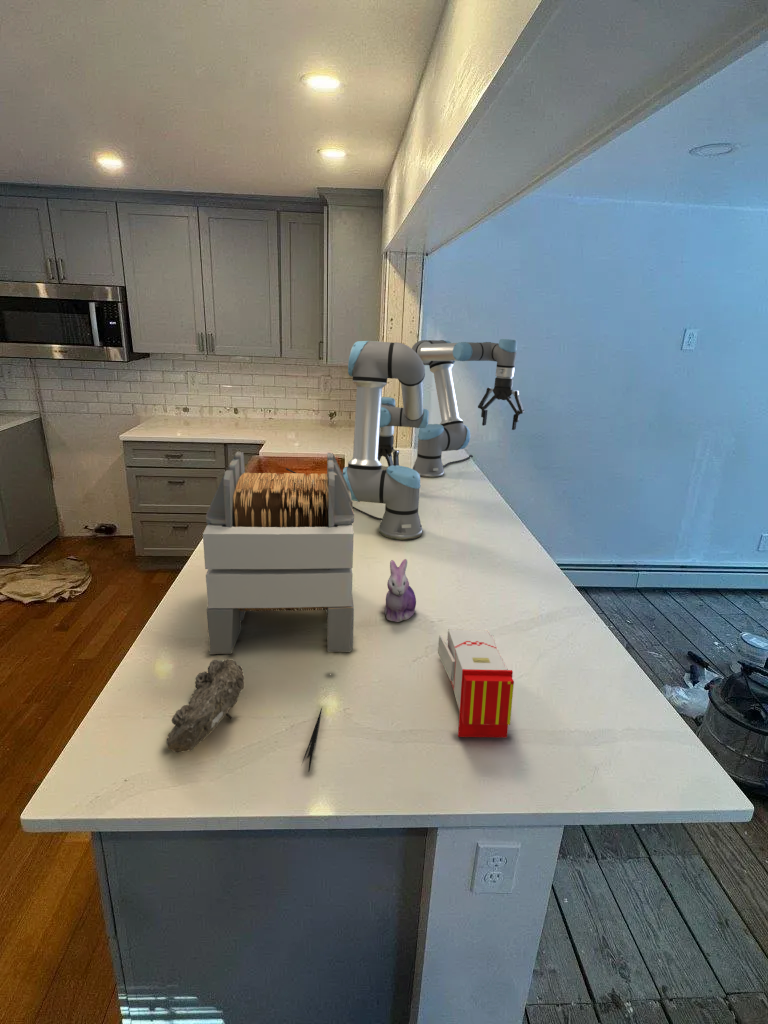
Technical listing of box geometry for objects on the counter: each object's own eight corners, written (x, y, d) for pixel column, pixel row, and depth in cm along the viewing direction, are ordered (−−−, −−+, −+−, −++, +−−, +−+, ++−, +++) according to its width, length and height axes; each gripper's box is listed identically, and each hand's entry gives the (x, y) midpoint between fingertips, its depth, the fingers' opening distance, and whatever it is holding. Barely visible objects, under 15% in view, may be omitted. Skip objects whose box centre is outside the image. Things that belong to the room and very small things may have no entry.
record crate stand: (229, 585, 158) (221, 442, 144) (346, 584, 161) (350, 444, 148) (206, 656, 126) (193, 481, 112) (353, 652, 130) (358, 483, 116)
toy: (488, 613, 130) (523, 677, 101) (484, 667, 133) (517, 744, 104) (435, 612, 130) (455, 676, 101) (432, 666, 133) (451, 743, 103)
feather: (331, 679, 122) (336, 673, 122) (307, 777, 96) (313, 769, 95) (324, 675, 122) (329, 669, 121) (298, 772, 95) (304, 764, 95)
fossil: (192, 660, 117) (244, 628, 112) (224, 691, 120) (276, 661, 115) (142, 746, 98) (202, 712, 93) (182, 779, 101) (242, 748, 96)
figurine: (392, 627, 141) (395, 572, 136) (374, 608, 149) (376, 556, 144) (425, 619, 145) (429, 566, 140) (405, 601, 154) (408, 550, 149)
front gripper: (360, 432, 241) (358, 484, 249) (400, 439, 231) (398, 493, 239) (369, 429, 247) (368, 480, 255) (409, 436, 237) (406, 488, 245)
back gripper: (473, 375, 242) (468, 424, 250) (530, 381, 230) (523, 432, 238) (480, 374, 248) (475, 422, 256) (535, 379, 236) (529, 430, 244)
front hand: (382, 486), depth 247 cm, fingers closed on block, 7 cm apart
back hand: (498, 427), depth 247 cm, fingers open, 13 cm apart
